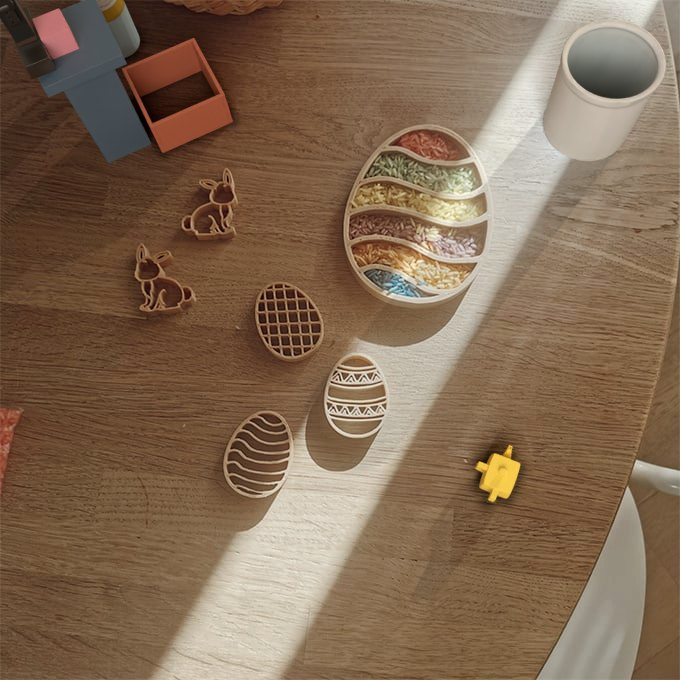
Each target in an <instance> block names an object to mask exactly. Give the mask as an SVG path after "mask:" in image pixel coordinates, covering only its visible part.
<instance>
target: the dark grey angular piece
mask: <svg viewBox="0 0 680 680" xmlns="http://www.w3.org/2000/svg"><path fill="white" fill-rule="evenodd" d="M18 1H19V0H18ZM18 1H17V0H15V2H16V4H17V5H18V7H19V9H20V10H21V12H22V13H23V15H24V17H25V18H26V20H27V22H28V23H29V25H30V26H31V28H32V30H33V31H34V34H35V36H33V37H31V38H28V39H26V40H23V41H21V42H19V43H16V42H15V40H14V39H13V37H12V36H11V38H12V41H13V43H14V46H15V48H16V51H17V53H18V56H19V58H20V60H21V63H22V66H23V67H24V69H25V70H26V73H28V75H29V76H30V79H32V80H35V79H39V78H38V77H40V76H43V75H45V74H47V73H50V72H52V71H55V70H56V68H55V66H54V64H53V61H52V59H51V57H50V54H49V52H48V51H47V49H46V47H45V46H44V44H43V42H42V41H41V39H40V37H39V34H38V32H37V30H36V27H35V25H34V23H33V20H32V19H34V18H35V17H34V16H33V15H32V12H31V11H30V9H29V8H28V6H24V7H22V8H23V9H22V8H21V6H22V5H21V3H20V2H19V3H20V4H19V3H18ZM20 5H21V6H20ZM23 10H24V11H25V13H26V14H25V13H24V11H23ZM26 15H27V16H26Z"/></svg>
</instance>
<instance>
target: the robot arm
mask: <svg viewBox="0 0 680 680" xmlns="http://www.w3.org/2000/svg"><path fill="white" fill-rule="evenodd" d="M17 1H18V3H19V4H20V6H21V8H22V9H23V8H24V7H23V6H22V5H21V3H20V1H19V0H17ZM23 11H24V10H23ZM24 13H25V11H24ZM25 14H26V13H25ZM26 16H27V15H26ZM0 20H1V22H2V24H3V25H4V27H5V28H6V30H7V32H8V33H9V34H10V36H11V38H12V37H13V39H14V40H15V42H16V43H19V42H21V41H23V40H26V39H28V38H31V37H33V36H35V34H34V31H33V30H32V28H31V26H30V25H29V23H28V22H27V20H26V18H25V17H24V15H23V13H22V12H21V10H20V9H19V7H18V5H17V4H16V2H15V0H0ZM13 39H12V40H13Z"/></svg>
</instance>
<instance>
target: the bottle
mask: <svg viewBox="0 0 680 680" xmlns="http://www.w3.org/2000/svg"><path fill="white" fill-rule="evenodd" d="M81 1H84V0H79V2H81ZM96 1H97V3H98V5H99V8H100V10H101V12H102V14H103V16H104V18H105V20H106V22H107V24H108V26H109V28H110V30H111V32H112V34H113V36H114V38H115V40H116V42H117V44H118V46H119V48H120V50H121V52H122V54H123V56H124V59H126V58H128V57H131V56H132V55H133V54H134V53H136V52H137V50H138V49H139V47H140V43H141V38H140V35H139V32H138V30H137V28H136V26H135V23H134V21H133V18H132V16H131V14H130V12H129V10H128V7H127V5H126V2H125V0H96Z"/></svg>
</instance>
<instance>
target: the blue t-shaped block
mask: <svg viewBox="0 0 680 680" xmlns="http://www.w3.org/2000/svg"><path fill="white" fill-rule="evenodd" d="M60 11H61V13H62V15H63V16H64V18H65V20H66V22H67V24H68V26H69V28H70V29H71V32H72V34H73V36H74V38H75V40H76V43H77V45H78V47H79V49H78V50H75V51H73V52H70V53H68V54H65V55H63V56H61V57H58V58H56V59H52V57H51V56H50V57H51V59H52V61H53V64H54V66H55V68H56V70H55V71H52V72H50V73H47V74H45V75H43V76H40V77H38V78H37V79H38V80H39V83H40V85H41V87H42V89H43V91H44V92H45V94H46V95H47V97H48V98H51V97H53V96H56V95H58V94H61V93H62V92H63V93H64V95H65V96H66V98H67V100H68V101H69V103H70V104H71V106H72V107H73V109H74V110H75V112H76V114H77V115H78V117H79V118H80V120H81V122H82V123H83V125H84V126H85V128H86V130H87V131H88V133H89V135H90V137H91V138H92V140H93V141H94V143H95V144H96V146H97V148H98V149H99V151H100V152H101V154H102V155H103V157H104V159H105V160H106V162H107V163H108V164H110V163H112V162H114V161H116V160H120V159H121V158H124V157H126V156H128V155H131V154H132V153H135V152H137V151H139V150H141V149H144V148H147V147H148V146H151V145H152V141H151V139H150V137H149V135H148V133H147V131H146V129H145V127H144V124H143V123H142V120H141V118H140V117H139V114H138V113H137V111H136V108H135V106H134V104H133V102H132V100H131V99H130V96H129V95H128V93H127V90H126V88H125V87H124V84H123V82H122V80H121V78H120V76H119V74H118V72H117V69H119V68H122V67H124V66H126V65H127V64H128V63H127V60H126V58H124V56H123V54H122V52H121V50H120V48H119V46H118V44H117V42H116V40H115V38H114V36H113V34H112V32H111V30H110V28H109V26H108V24H107V22H106V20H105V18H104V16H103V14H102V12H101V10H100V8H99V5H98V3H97V1H96V0H84V1H79V2H77V3H74V4H72V5H69V6H67V7H65V8H62V9H60Z"/></svg>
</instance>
